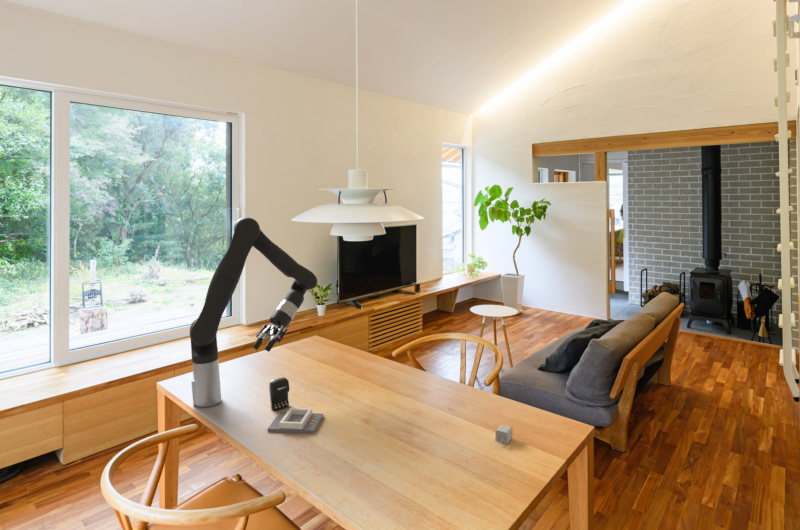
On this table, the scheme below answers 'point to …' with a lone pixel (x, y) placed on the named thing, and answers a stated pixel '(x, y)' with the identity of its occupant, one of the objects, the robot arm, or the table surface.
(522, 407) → the table surface
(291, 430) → the charging dock
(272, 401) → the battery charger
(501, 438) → the usb wall charger
